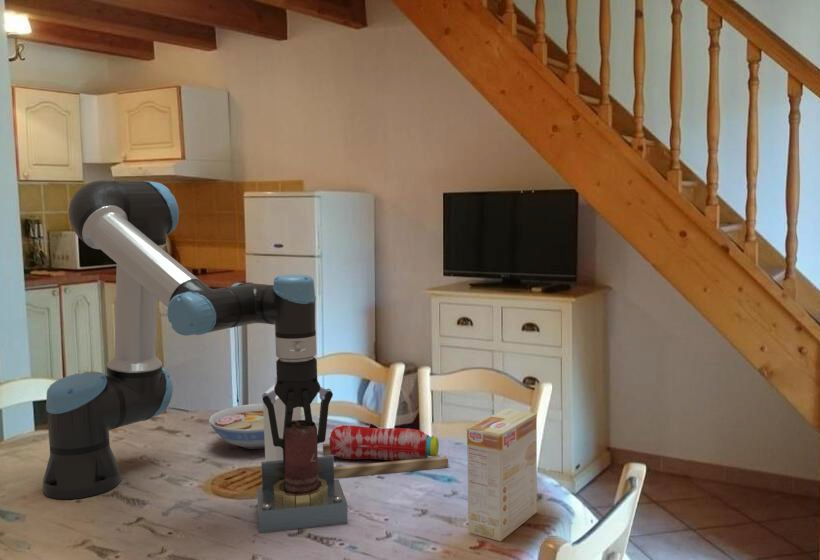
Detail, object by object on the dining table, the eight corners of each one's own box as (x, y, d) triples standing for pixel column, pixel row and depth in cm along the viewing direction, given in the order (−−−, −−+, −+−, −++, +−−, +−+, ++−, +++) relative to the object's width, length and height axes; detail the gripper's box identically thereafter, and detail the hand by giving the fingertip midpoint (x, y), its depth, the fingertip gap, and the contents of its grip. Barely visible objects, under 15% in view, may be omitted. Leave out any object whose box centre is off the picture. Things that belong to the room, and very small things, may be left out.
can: (302, 486, 147) (301, 416, 145) (324, 494, 142) (323, 423, 141) (277, 495, 142) (276, 424, 140) (300, 504, 138) (299, 431, 136)
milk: (278, 488, 157) (274, 385, 154) (265, 479, 162) (261, 379, 159) (304, 480, 161) (300, 380, 158) (290, 473, 165) (287, 375, 163)
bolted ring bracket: (259, 532, 136) (257, 484, 135) (257, 506, 147) (256, 462, 146) (347, 523, 139) (346, 476, 138) (338, 498, 151) (337, 455, 150)
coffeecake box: (505, 504, 147) (505, 407, 145) (538, 512, 143) (538, 412, 140) (465, 532, 134) (465, 426, 132) (501, 542, 130) (500, 433, 128)
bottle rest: (331, 478, 162) (331, 469, 161) (322, 452, 179) (322, 444, 178) (448, 467, 167) (448, 458, 167) (428, 443, 184) (428, 435, 184)
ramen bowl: (226, 429, 198) (224, 399, 197) (312, 429, 197) (311, 398, 196) (195, 462, 173) (193, 427, 172) (293, 462, 172) (292, 427, 171)
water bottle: (341, 419, 183) (443, 424, 178) (341, 453, 182) (442, 458, 178) (327, 426, 171) (435, 431, 166) (326, 461, 170) (434, 468, 166)
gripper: (254, 364, 135) (259, 491, 137) (340, 359, 138) (343, 482, 140) (253, 356, 142) (258, 476, 144) (334, 351, 145) (337, 469, 148)
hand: (300, 479), depth 142 cm, fingers open, 2 cm apart
